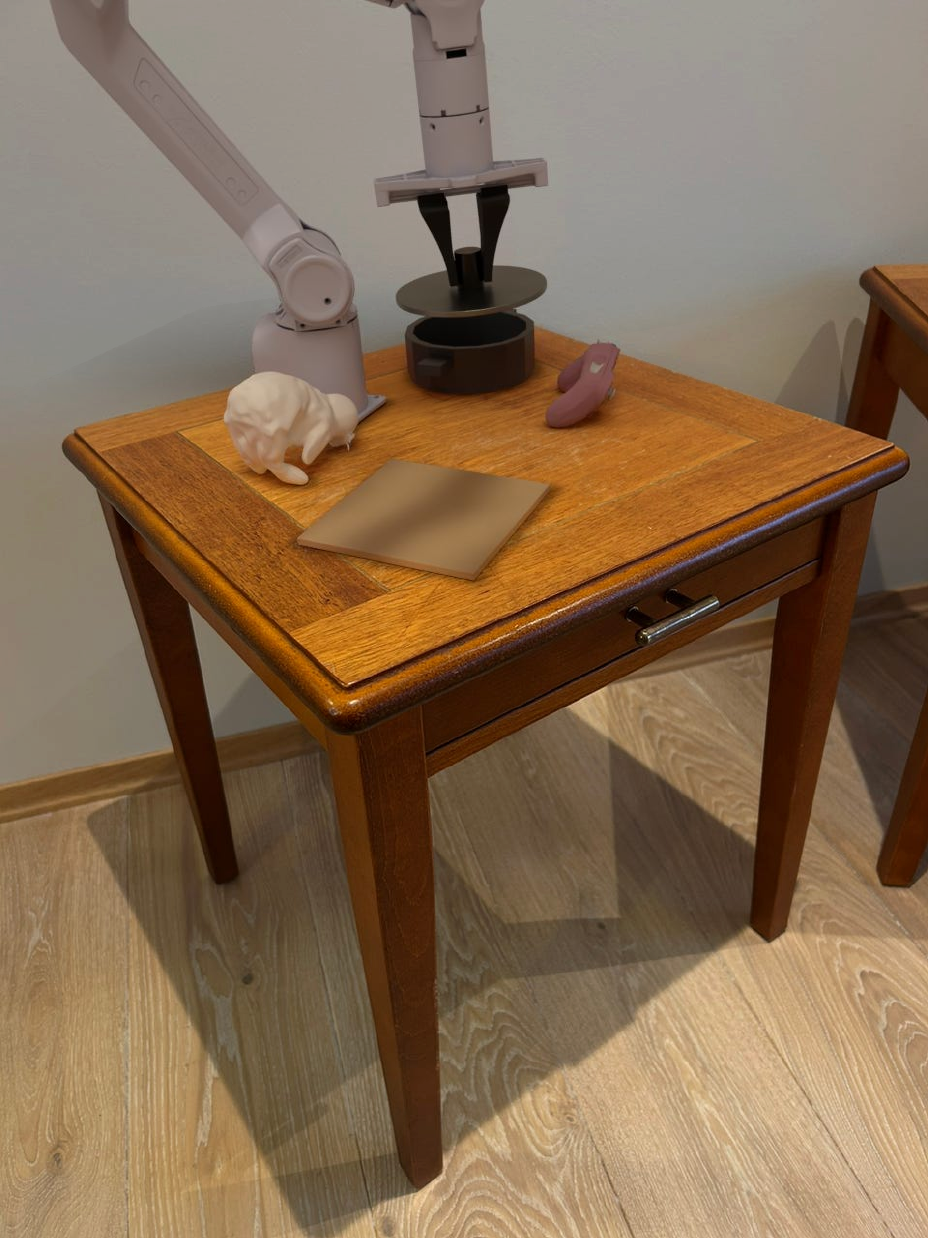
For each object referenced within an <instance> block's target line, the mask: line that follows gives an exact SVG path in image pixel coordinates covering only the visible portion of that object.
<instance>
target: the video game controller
mask: <svg viewBox="0 0 928 1238" xmlns="http://www.w3.org/2000/svg"><path fill="white" fill-rule="evenodd" d="M620 353H621V348H619V347H618V346H617V344H615V343H614V342H613V343H611V342H610V341H606V342H602V341H601V340H600V339H599V338H598V339H597V341H596V343H593V344H590V346H589V347H588V348H587V349H586V350H585V351H584V352H583V354H581V355H580V356H579V357H578V358H576V359H575V360H574V361H573V362H571V363H569V364H568V365H566V366H565V367H564V368H563V369H562V370H561V371H560V373H559V375H558V376H557V381H556V382H557V383H556V384H557V387H558V389H559V390H560V391H561V392H564V393H563V394H561V395H560V396H559V397H558V398H556V399H555V400H554V401H552V402H551V404H549V406H548V407H547V409H546V411H545V416H544V418H545V422H546V423H547V425H549V427H552V428H565V427H569V426H572V425H574V424H576V423H578V422H580V421H581V420H582V419H585V418H588V419H590V418H591V416H592V415H593V414H594V412H595V410H597V409H599V407H600V406H601V404H602V402H603V401H605V400H606V399H607V401H608V402H609V401H611V400H612V399H613V398H614V397H615V396H616V395H615V394H616V387H613V381H614V378H615V375H616V374H615V373H616V372H614V369H615V367H616V364H617V360H618V358H619V356H620ZM612 388H613V389H612Z"/></svg>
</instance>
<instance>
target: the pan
mask: <svg viewBox="0 0 928 1238" xmlns="http://www.w3.org/2000/svg"><path fill="white" fill-rule="evenodd" d="M517 311H518V310H517V308H513V309H510V310H506V311H502V312H497V313H492V314H486V315H479V316H470V317H450V318H446V317H429V316H423V317H420V318H419V317H418V318H417V319H416V320H414V321H413V322H411V323H410V324H408V325H407V326H406V328H405V332H404V343H405V355H406V366H407V374H408V376H409V379H410V381H411V382H412V383H413V384H414V385H416V386H417V387H419V388H422V389H423V390H427V391H429V392H436V393H441V394H448V395H449V394H450V395H476V394H477V395H481V394H489V393H495V392H499V391H503V390H506V389H510V388H513V387H516V386H518V385H520V384H523V383H524V382H527V380H529V379H530V378H531V377H532V376H533V375H534V373H535V370H536V363H535V361H536V360H535V357H536V355H535V321H534V320H533V319H531V318H530V317H529V316H527V315H525V314H524V313H520V312H517Z"/></svg>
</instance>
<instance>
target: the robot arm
mask: <svg viewBox="0 0 928 1238" xmlns="http://www.w3.org/2000/svg"><path fill="white" fill-rule="evenodd" d="M365 1H366V2H369V3H372V4H376V5H378V6H383V7H386V8H390V9H394V10H395V9H397V8H399V7H400V6H402V5H403V6H404V8H405V9H406V10H407V11H408V12H409V17H410V26H411V36H412V43H413V44H412V45H413V48H412V62H413V69H414V77H415V78H414V79H415V89H416V96H417V106H418V113H419V114H418V115H419V116H418V117H419V124H420V125H419V126H420V133H421V142H422V152H423V160H424V169H419V170H415V171H410V172H406V173H400V174H395V175H390V176H382V177H376V178H374V179H373V186H374V193H375V200H376V206H377V208H382V207H389V206H390V205H392V204H399V203H408V202H414V201H415V202H416V203H417V206H418V210H419V213H420V215H421V218H422V219H423V220H424V222H425V224H426V226H427V228H428V229H429V232H430V233H431V235H432V237H433V239H434V241H435V243H436V246H437V248H438V250H439V253H440V255H441V257H442V260H443V263H444V265H445V268H446V269H445V270H447V273H448V279H449V284H450V287H454V286H458V276H457V270H456V265H455V258H454V248H453V236H452V225H451V224H452V223H451V211H450V208H449V203H448V200H447V197H448V198H449V197H454V196H455V197H456V196H462V195H471V194H472V195H473V194H475V199H476V208H477V217H478V227H479V238H480V248H481V254H482V265H483V278H484V282H485V283H486V282H492V271H493V265H494V261H495V256H496V255H495V254H496V250H497V245H498V241H499V238H500V234H501V231H502V227H503V224H504V221H505V219H506V216H507V214H508V211H509V207H510V204H511V196H510V194H509V190H511V189H512V190H513V189H519V188H527V187H535V188H541V187H548V186H549V176H548V174H549V173H548V161H547V160H546V159H545V158H544V157H536V158H525V159H510V160H508V159H506V160H494V153H493V152H494V151H493V141H492V140H493V139H492V128H491V114H490V113H491V112H490V97H489V85H488V73H487V72H488V71H487V58H486V44H485V42H484V36H483V23H482V22H483V21H482V9H481V8H482V7H483V5H484V3H485V1H486V0H365ZM49 4H50V7H51V10H52V14H53V18H54V22H55V25H56V29H57V33H58V36H59V38H60V40H61V42H62V44H63V45H64V46H65V48H66V50H67V51H68V52H69V53H70V55H72V57H74V58H75V60H76V61H77V62H78V63H79V64H80V66H82V67H83V68H84V69H85V71H86V72H87V73H88V74H89V75H90V76H91V77H92V78H93V80H95V81H96V82H97V84H98V85H99V86H100V87H101V88H102V89H103V90H104V91H105V93H107V94H108V96H109V97H110V98H111V99H112V100H113V101H114V102H115V103H116V105H118V106H119V108H120V109H121V110H122V111H123V112H124V113H125V114H126V115H127V116H128V118H130V119H131V121H132V122H133V123H134V124H135V125H136V126H137V127H138V128H139V130H140V131H141V132H142V133H143V134H144V135H145V136H146V137H147V138H148V140H149V141H150V142H151V143H152V144H153V145H154V146H155V147H156V148H157V149H158V150H159V151H160V152H161V154H162V155H164V157H165V158H167V160H168V161H169V162H170V163H171V164H172V166H173V167H174V168H175V169H176V171H178V172H179V173H180V174H181V175H182V176H183V177H184V179H186V181H187V182H188V183H189V184H190V185H191V186H192V187H193V188H194V190H195V191H197V193H198V194H199V195H200V196H201V197H202V198H203V199H204V200H205V201H206V202H207V204H208V205H209V206H210V207H211V208H212V209H213V210H214V211H215V213H217V215H218V216H219V217H220V218H221V219H222V220H223V221H224V222H225V223H226V224H227V225H228V227H230V229H231V230H232V231H233V232H234V233H235V234H236V235H237V236H238V237H239V239H240V240H241V241H242V242H243V244H244V245H245V246H246V249H248V251H249V252H250V254H251V255H252V256H253V258H254V259H255V261H256V262H257V264H258V265H259V266H260V268H261V269H262V270H263V271H264V272H265V273H266V274H267V275H268V277H269V278H270V279H271V280H272V282H273V284H274V286H275V288H276V291H277V295H278V299H279V302H280V303H279V305H278V309H275V310H274V312H269V313H266V314H264V315H263V316H262V317H261V318H260V319H259V320H258V321H257V323H256V325H255V327H254V329H253V331H252V332H253V333H252V338H251V354H252V355H251V356H252V361H253V368H254V372H255V373H254V374H258V373H262V372H278V373H282V374H285V375H290V376H293V377H296V378H299V379H301V380H303V381H305V382H307V383H309V385H310V386H312V387H314V388H316V389H318V390H319V391H320V392H321V393H324V394H326V395H327V394H341V395H344V396H346V397H348V398H349V399H350V400H351V401H352V402H353V404H354V405H355V407H356V409H357V412H358V423H360V422H361V421H362V420H364V419H365V418H367V417H368V416H369V415H371V414H372V413H374V412H375V411H377V409H379V408H380V407H381V406H383V405H384V404H386V402H387V397H386V396H384V395H379V394H378V395H377V394H370V393H368V390H367V382H366V381H367V380H366V372H365V364H364V355H363V347H362V346H363V345H362V338H361V337H362V336H361V329H360V321H359V320H360V319H359V314H358V306H357V305H356V304H355V303H353V301H354V297H355V291H356V288H355V280H354V275H353V273H352V271H351V268H350V267H349V265H348V263H347V262H346V261H345V260H344V259H343V258H342V255H341V252H340V249H339V247H338V245H337V243H336V241H335V240H334V239H333V238H332V236H330V235H329V234H328V233H327V232H325V231H323V230H322V229H319V228H317V227H315V226H313V225H310V224H309V223H306V222H305V221H304V220H303V219H301V217H300V216H299V215H298V214H297V213H296V212H295V210H294V209H292V207H291V206H290V205H289V204H287V202H286V201H284V200H283V199H282V198H281V197H280V196H279V195H278V194H277V192H276V191H275V190H274V189H273V187H272V186H270V184H269V183H268V182H267V181H266V180H265V179H264V177H263V176H262V175H261V173H259V171H257V169H256V168H255V167H254V165H252V164H251V162H250V161H249V160H248V159H247V157H246V156H245V155H244V154H243V153H242V152H241V151H240V150H239V148H238V147H237V146H236V145H235V143H234V142H233V141H232V140H231V139H230V138H229V137H228V135H226V133H225V132H224V131H223V129H221V128H220V126H219V125H218V124H217V123H216V122H215V120H214V119H213V118H212V117H211V116H210V115H209V113H207V111H206V110H205V109H204V108H203V107H202V105H200V103H199V102H198V100H196V99H195V97H194V96H193V95H192V94H191V93H190V92H189V90H188V89H187V88H186V87H185V86H184V84H182V82H181V81H180V80H179V79H178V78H177V76H175V74H174V73H173V72H172V71H171V69H170V68H168V66H167V65H166V64H165V63H164V62H163V60H162V59H161V58H160V56H158V55H157V54H156V52H155V51H154V50H153V49H152V48H151V46H150V45H149V44H148V43H147V42H146V41H145V39H144V38H143V37H142V36H141V35H140V33H138V31H137V30H136V28H134V27H133V26H132V24H131V22H130V15H129V14H130V13H129V12H130V11H129V7H130V6H129V0H49Z"/></svg>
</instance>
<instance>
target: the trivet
mask: <svg viewBox="0 0 928 1238" xmlns="http://www.w3.org/2000/svg"><path fill="white" fill-rule="evenodd" d="M550 492H551V483H547V482H541V481H535V480H527V479H522V478H517V477H516V478H515V477H509V476H504V475H497V474H490V473H485V472H478V471H472V470H465V469H459V468H452V467H448V466H447V467H445V466H441V465H440V466H439V465H434V464H427V463H420V462H415V461H408V460H401V459H397V458H396V459H394V458H390V459H389V460H388V461H386V463H384V464H383V465H382V466H380V468H378V469H377V470H376V471H375V472H374V473H372V474H371V475H370V476H369V477H368V478H367V479H365V480H364V481H363V482H362V483H360V484H359V485H358V486H357V487H356V488H354V489H353V490H352V491H351V492H350V493H349V494H347V495H346V496H345V497H344V498H343V499H341V500H340V501H339V502H338V503H337V504H335V505H334V506H333V507H332V508H331V509H329V510H328V511H327V512H326V513H325V514H323V515H322V516H321V517H319V519H318V520H316V521H315V522H314V523H313V524H311V525H310V526H309V527H308V528H306V529H305V530H304V531H303V532H302V533H300V535H298V536H297V537H296V540H297V545H298V546H301V547H307V548H312V549H318V550H322V551H327V552H333V553H337V554H341V555H347V556H350V557H351V556H352V557H356V558H360V559H366V560H370V561H375V562H381V563H386V564H390V565H394V566H395V565H396V566H400V567H405V568H410V569H415V570H420V571H423V572H424V571H425V572H430V573H435V574H439V575H444V576H448V577H453V578H454V577H455V578H459V579H463V580H467V581H468V580H469V581H473V582H474V581H475V580H476V579H477V578H478V577H479V575H480V574H481V573H482V572H483V571H484V569H486V568H487V566H488V565H489V564H490V563H491V561H492V560H493V559H494V558H495V557H496V556H497V554H498V553H499V552H500V551H501V550H502V548H504V546H505V544H506V543H507V542H508V541H509V540H510V539H511V538H512V536H513V535H514V534H515V533H516V532H517V531H518V530H519V528H520V527H521V526H522V525H523V523H525V521H526V520H527V519H528V518H529V517H530V515H531V514H532V513H533V512H534V510H535V509H537V507H538V506H539V505H540V504H541V502H542V501H543V500H544V499H545V498H546V497H547V496H548V494H549V493H550Z"/></svg>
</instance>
